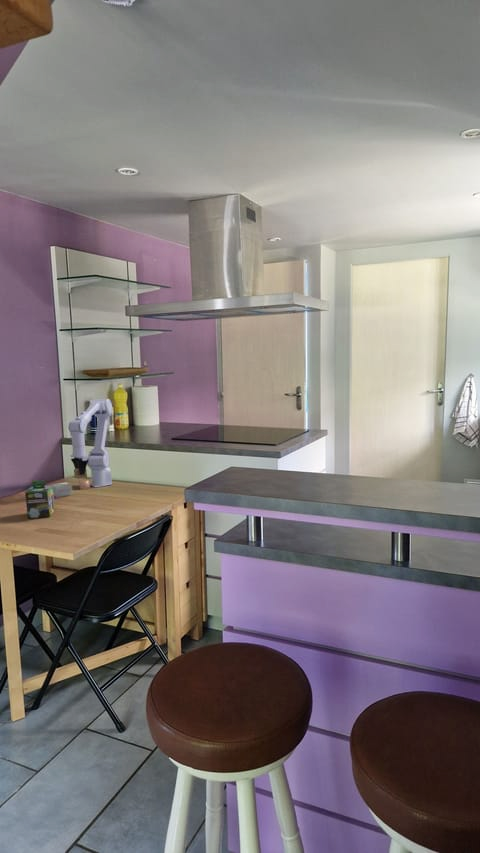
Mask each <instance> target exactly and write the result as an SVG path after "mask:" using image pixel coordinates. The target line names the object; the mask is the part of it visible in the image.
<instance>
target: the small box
mask: <svg viewBox="0 0 480 853" xmlns="http://www.w3.org/2000/svg"><path fill="white" fill-rule="evenodd" d="M52 485H53V494H54V498H61V497H68V496H72V495H73V485H72V484H71V483H69V482H66V481H65V482H61V483H55V484H52Z"/></svg>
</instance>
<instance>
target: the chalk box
mask: <svg viewBox="0 0 480 853" xmlns="http://www.w3.org/2000/svg"><path fill="white" fill-rule="evenodd" d="M31 484H32V486H30V487H29V488H28V489H26V491H25V492H24V494H25V495H24V496H25V503H26V511H27V519H38V518H39V519H41V518H51V516H52V515H53V514H54V513H55V511H56V506H55V505H56V504H55V496H54V494H53V484H50V485H49V484H47V485H45V481H44V480H32V481H31ZM37 484H40V485H37Z"/></svg>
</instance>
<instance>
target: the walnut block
mask: <svg viewBox="0 0 480 853" xmlns="http://www.w3.org/2000/svg"><path fill="white" fill-rule="evenodd" d="M87 470H88V469H86V471H85V474H83V475H80V472H79V468H78V469H75V468H73V475H74V476H73V478H75V479H77V480H81V479H87V478H88V474H87Z"/></svg>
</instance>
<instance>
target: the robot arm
mask: <svg viewBox="0 0 480 853" xmlns="http://www.w3.org/2000/svg"><path fill="white" fill-rule="evenodd" d="M88 403H89V404H88V405H89V406H88V407H87V408H86V410H85V411H80V413H79V415H78V416H77V417H75V419H74V420H73V419H72V420H71V421H69V424H68V427H67V428H68V431H69V435H70V437H71V445H72V453H71V455H70V460H71V462H72V464H73V467H74V469H78V468H79V472H80V475H83V474H85V471H86V470H87V467H88V468H89V469H90V476H91V483H90V487H92V488H101V487H106V486H112V485H113V480H112V471H111V468H110V467H109V466H108V465H109V464H110V458H109V455H110V454H109V453H108V451H106V449H105V448H106V447H105V446H106V439H107V432H108V424H109V418H110V417H111V415H112V412H113V410H112V409H113V404H112V402H111V399H110V398H105V399H104V398H101V399H100V398H98V399H97V398H95V399H94V398H92V399H91V400H90V401H89V402H88ZM93 415H94V417H96V418H97V425H96V431H95V432H96V433H95V438H94V446H93V448H92V449H91V450H89V452H88V456H87V454H86V442H85V432H86V431H87V430H86V429H87V427H88V424H89V423H90V422H91V421H92V417H93Z"/></svg>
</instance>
